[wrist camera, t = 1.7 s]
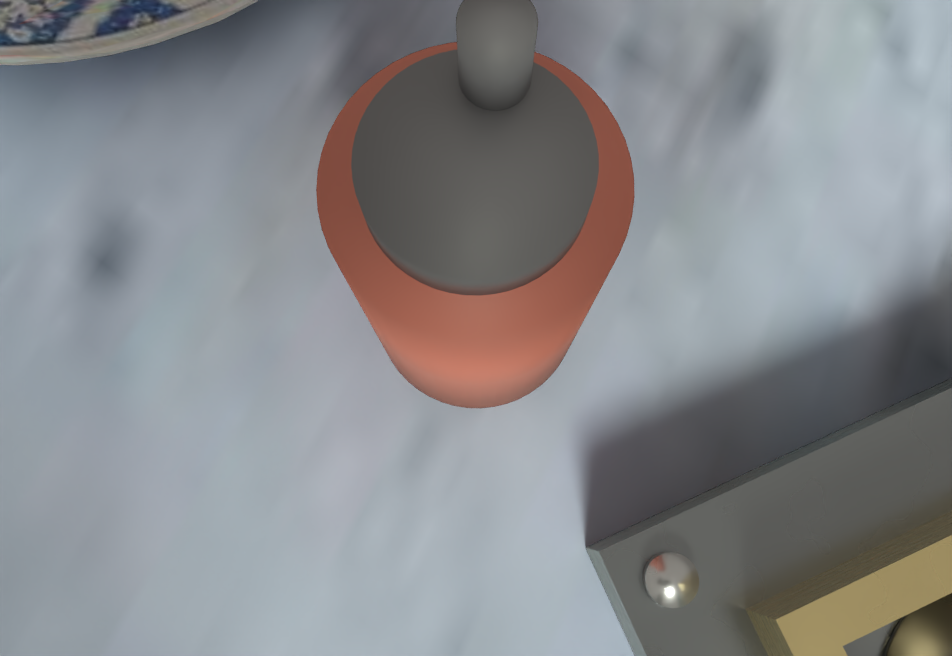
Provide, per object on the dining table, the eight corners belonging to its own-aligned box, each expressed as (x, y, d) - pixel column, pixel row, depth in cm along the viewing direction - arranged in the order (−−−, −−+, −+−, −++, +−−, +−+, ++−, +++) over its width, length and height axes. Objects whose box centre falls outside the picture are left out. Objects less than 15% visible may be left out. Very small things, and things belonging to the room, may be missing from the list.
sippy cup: (554, 427, 23) (630, 337, 11) (356, 383, 23) (235, 253, 12) (592, 238, 24) (696, -17, 12) (403, 198, 24) (336, -86, 13)
